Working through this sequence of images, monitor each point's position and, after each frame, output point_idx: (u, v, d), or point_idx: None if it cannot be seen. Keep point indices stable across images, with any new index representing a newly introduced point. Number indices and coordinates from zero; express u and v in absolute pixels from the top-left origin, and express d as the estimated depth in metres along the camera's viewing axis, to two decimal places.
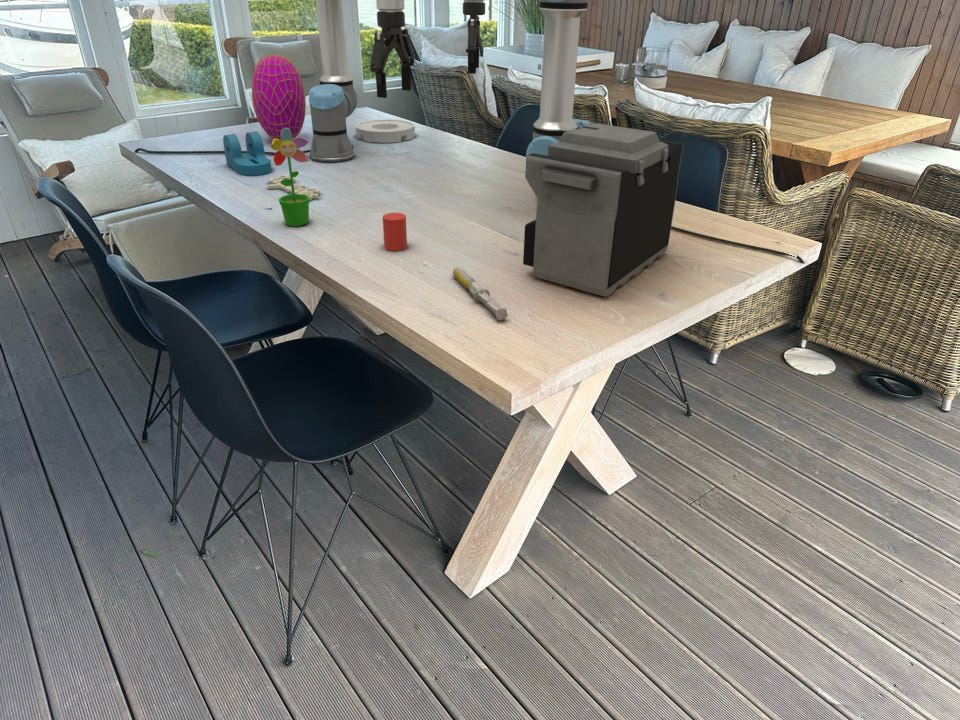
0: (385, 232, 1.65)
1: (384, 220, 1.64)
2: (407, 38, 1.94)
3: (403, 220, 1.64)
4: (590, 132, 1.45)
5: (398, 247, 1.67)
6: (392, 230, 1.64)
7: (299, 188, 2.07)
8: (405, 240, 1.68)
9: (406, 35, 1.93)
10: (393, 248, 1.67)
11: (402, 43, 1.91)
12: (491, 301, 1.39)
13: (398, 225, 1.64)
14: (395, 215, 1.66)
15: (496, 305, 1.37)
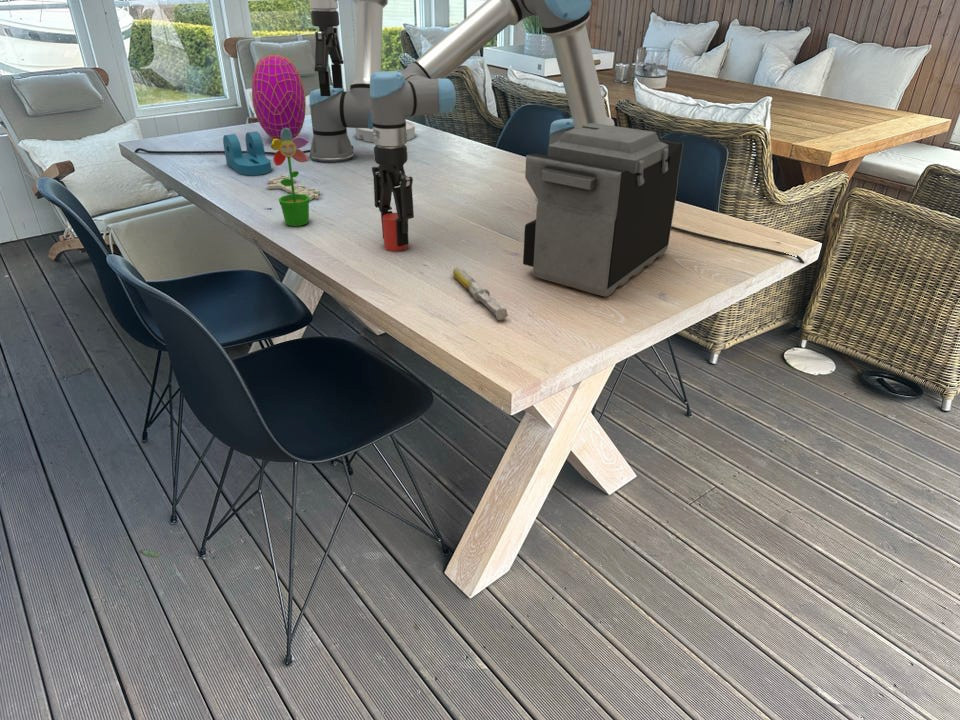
0: (385, 232, 1.65)
1: (384, 220, 1.64)
2: None
3: None
4: (590, 132, 1.45)
5: (398, 247, 1.67)
6: (392, 230, 1.64)
7: (299, 188, 2.07)
8: None
9: None
10: (393, 248, 1.67)
11: None
12: (491, 301, 1.39)
13: None
14: (395, 215, 1.66)
15: (496, 305, 1.37)
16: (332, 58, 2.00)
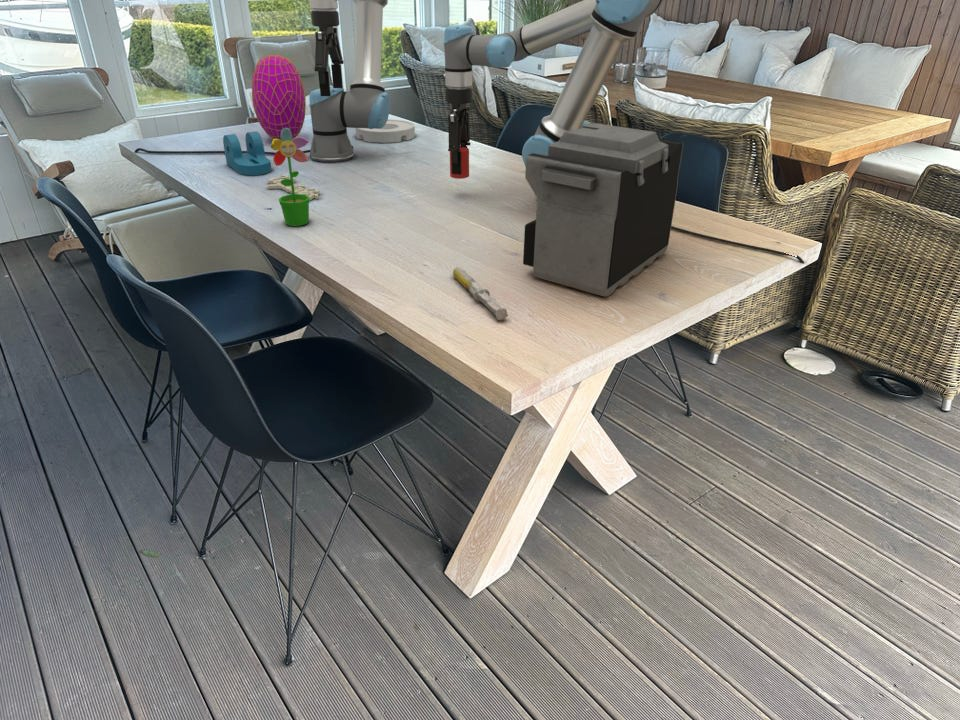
0: None
1: None
2: (468, 115, 1.99)
3: None
4: (590, 132, 1.45)
5: (453, 175, 2.00)
6: (450, 159, 1.99)
7: (299, 188, 2.07)
8: (461, 171, 1.99)
9: (468, 112, 1.98)
10: (451, 174, 2.01)
11: (466, 118, 1.96)
12: (491, 301, 1.39)
13: None
14: (460, 149, 1.99)
15: (496, 305, 1.37)
16: (332, 58, 2.00)
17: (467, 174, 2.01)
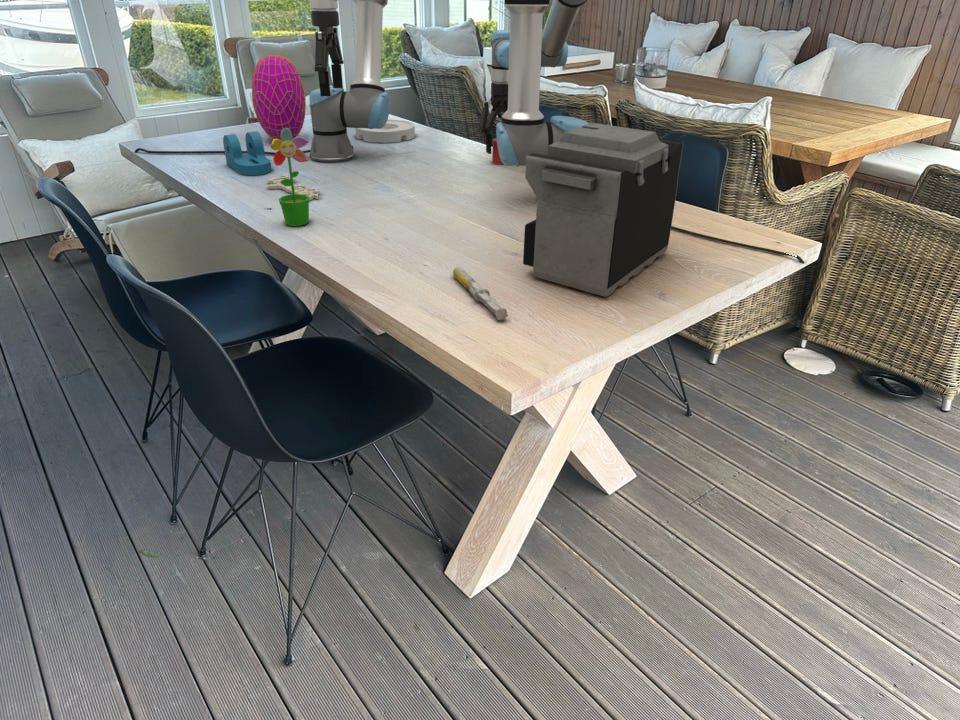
0: None
1: None
2: None
3: (494, 142, 2.34)
4: (590, 132, 1.45)
5: (492, 160, 2.39)
6: None
7: (299, 188, 2.07)
8: (495, 158, 2.37)
9: None
10: None
11: None
12: (491, 301, 1.39)
13: None
14: None
15: (496, 305, 1.37)
16: (332, 58, 2.00)
17: (501, 162, 2.37)
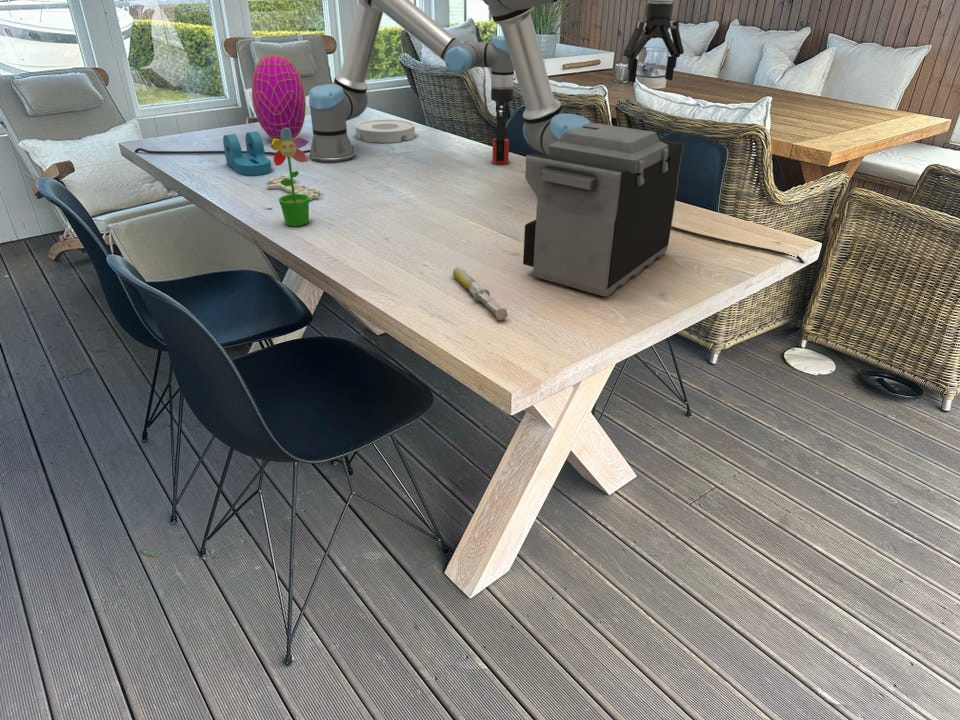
0: None
1: None
2: (677, 30, 2.04)
3: (494, 142, 2.34)
4: (590, 132, 1.45)
5: (492, 160, 2.39)
6: None
7: (299, 188, 2.07)
8: (495, 158, 2.37)
9: (676, 27, 2.03)
10: None
11: (667, 34, 2.03)
12: (491, 301, 1.39)
13: None
14: None
15: (496, 305, 1.37)
16: None
17: (501, 162, 2.37)
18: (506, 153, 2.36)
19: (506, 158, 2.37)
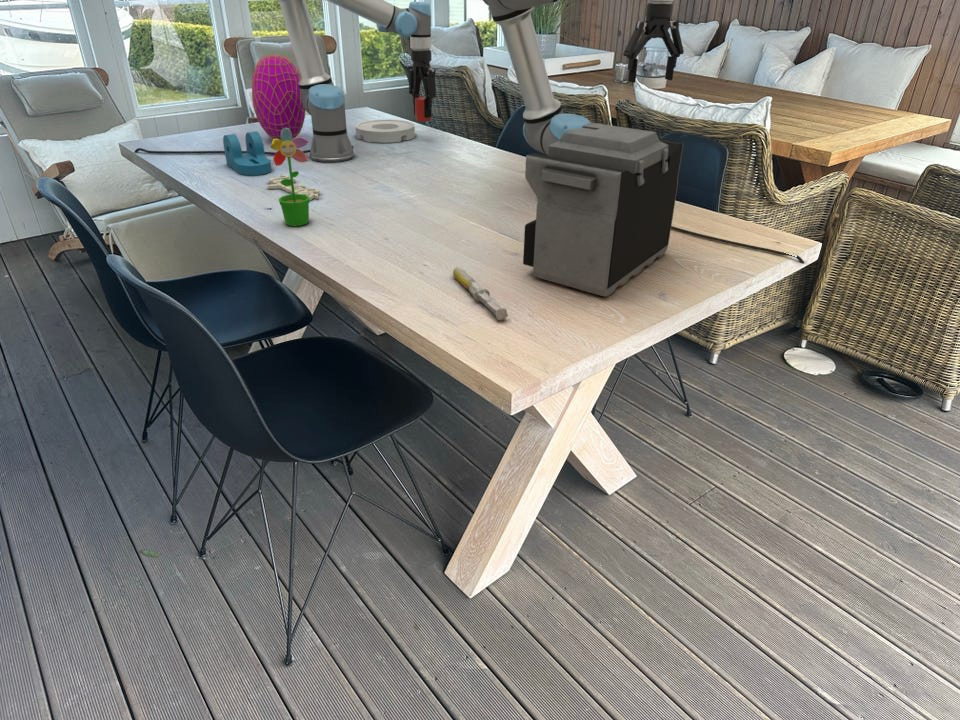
0: None
1: None
2: (677, 30, 2.04)
3: (421, 101, 2.56)
4: (590, 132, 1.45)
5: (417, 118, 2.60)
6: (415, 106, 2.59)
7: (299, 188, 2.07)
8: (423, 115, 2.59)
9: (676, 27, 2.03)
10: (416, 118, 2.61)
11: (667, 34, 2.03)
12: (491, 301, 1.39)
13: (418, 103, 2.57)
14: (423, 98, 2.58)
15: (496, 305, 1.37)
16: (415, 90, 2.58)
17: (428, 118, 2.60)
18: None
19: None
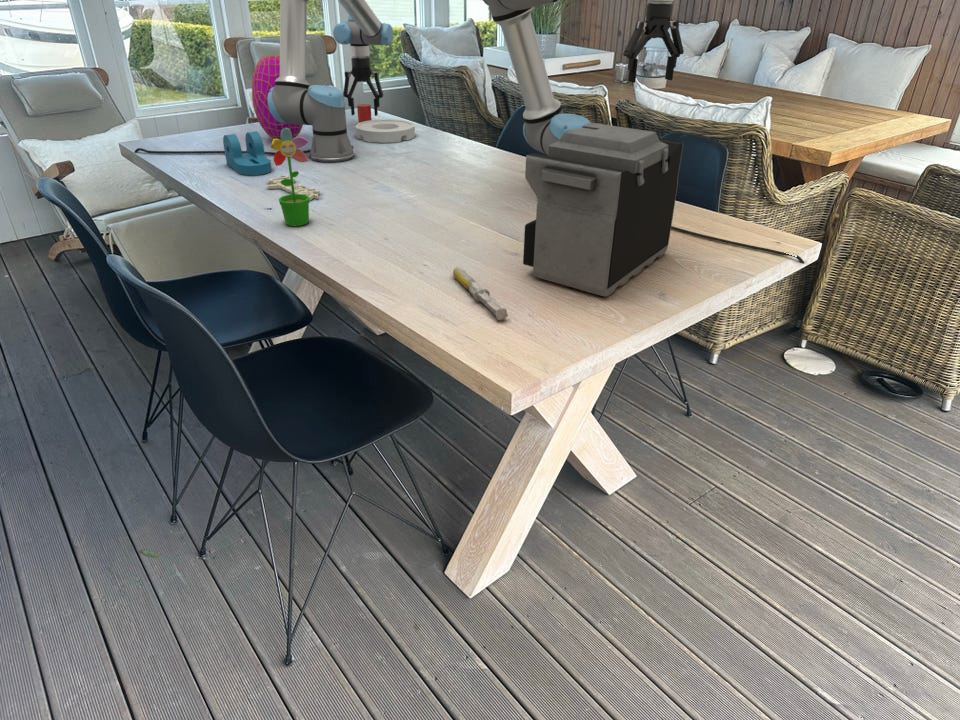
0: (358, 113, 2.87)
1: (357, 106, 2.86)
2: (677, 30, 2.04)
3: (367, 107, 2.85)
4: (590, 132, 1.45)
5: None
6: (360, 113, 2.86)
7: (299, 188, 2.07)
8: (369, 120, 2.88)
9: (676, 27, 2.03)
10: None
11: (667, 34, 2.03)
12: (491, 301, 1.39)
13: (364, 109, 2.85)
14: (364, 105, 2.87)
15: (496, 305, 1.37)
16: (352, 93, 2.84)
17: None
18: None
19: None
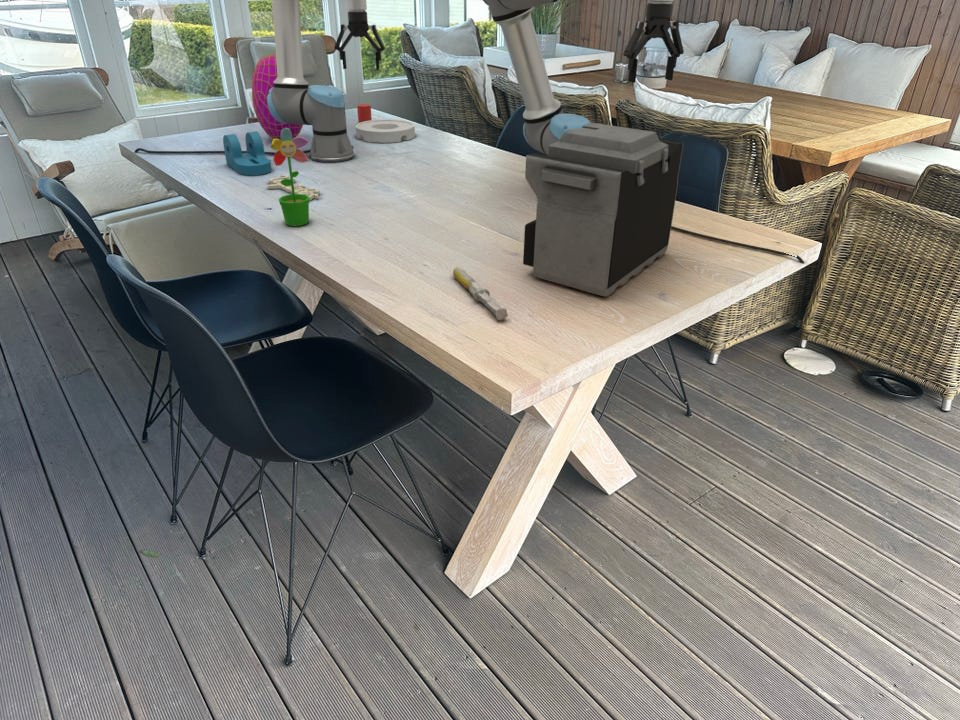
0: (358, 113, 2.87)
1: (357, 106, 2.86)
2: (677, 30, 2.04)
3: (367, 107, 2.85)
4: (590, 132, 1.45)
5: None
6: (360, 113, 2.86)
7: (299, 188, 2.07)
8: (369, 120, 2.88)
9: (676, 27, 2.03)
10: None
11: (667, 34, 2.03)
12: (491, 301, 1.39)
13: (364, 109, 2.85)
14: (364, 105, 2.87)
15: (496, 305, 1.37)
16: (344, 46, 2.75)
17: None
18: None
19: None
